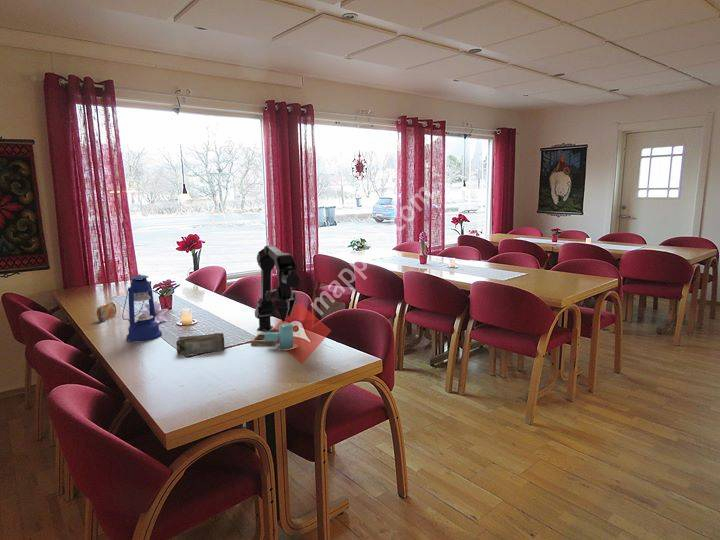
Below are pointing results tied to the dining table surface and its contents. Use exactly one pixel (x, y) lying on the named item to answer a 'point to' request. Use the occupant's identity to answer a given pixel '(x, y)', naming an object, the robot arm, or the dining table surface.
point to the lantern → (145, 323)
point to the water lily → (156, 312)
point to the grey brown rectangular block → (200, 343)
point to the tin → (106, 311)
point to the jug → (282, 336)
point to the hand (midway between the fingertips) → (286, 318)
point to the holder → (261, 342)
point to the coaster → (281, 348)
